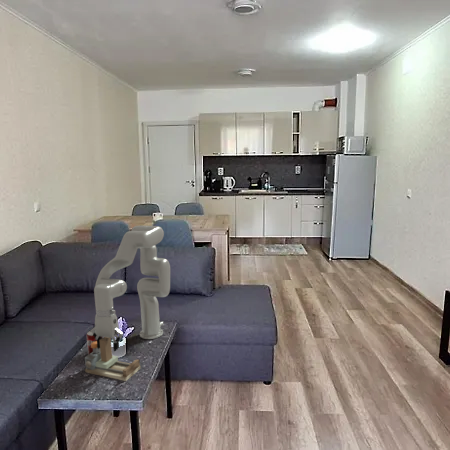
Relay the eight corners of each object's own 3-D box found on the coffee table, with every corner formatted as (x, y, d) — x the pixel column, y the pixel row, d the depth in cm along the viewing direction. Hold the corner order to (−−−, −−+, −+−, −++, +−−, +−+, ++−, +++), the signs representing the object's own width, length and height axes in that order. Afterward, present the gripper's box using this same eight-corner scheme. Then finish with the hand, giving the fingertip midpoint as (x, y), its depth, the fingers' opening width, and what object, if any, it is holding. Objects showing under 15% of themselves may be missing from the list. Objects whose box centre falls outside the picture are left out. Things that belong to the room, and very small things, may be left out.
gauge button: (95, 350, 185) (94, 340, 184) (101, 351, 184) (100, 342, 183) (90, 353, 182) (89, 344, 181) (96, 355, 181) (95, 345, 180)
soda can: (99, 359, 191) (97, 336, 189) (85, 358, 193) (83, 335, 191) (106, 352, 198) (104, 329, 196) (93, 351, 200) (91, 328, 198)
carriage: (107, 358, 186) (105, 334, 184) (118, 360, 184) (116, 335, 182) (96, 366, 179) (93, 341, 177) (106, 369, 177) (104, 343, 175)
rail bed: (101, 360, 190) (100, 346, 189) (140, 368, 181) (139, 354, 180) (85, 372, 180) (84, 357, 179) (125, 381, 171) (124, 365, 170)
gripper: (126, 310, 177) (129, 347, 180) (94, 306, 183) (97, 342, 186) (116, 317, 170) (119, 355, 173) (83, 312, 176) (87, 349, 179)
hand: (108, 348), depth 180 cm, fingers open, 8 cm apart
